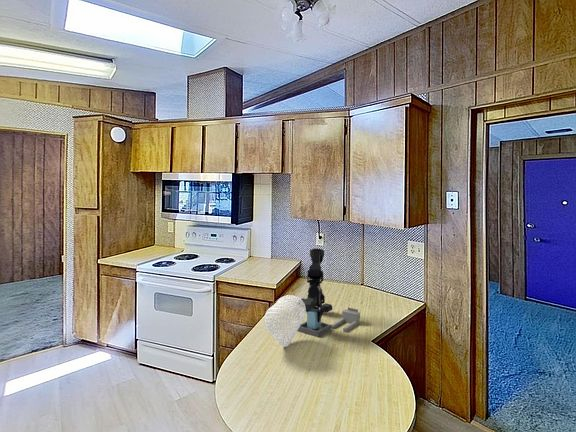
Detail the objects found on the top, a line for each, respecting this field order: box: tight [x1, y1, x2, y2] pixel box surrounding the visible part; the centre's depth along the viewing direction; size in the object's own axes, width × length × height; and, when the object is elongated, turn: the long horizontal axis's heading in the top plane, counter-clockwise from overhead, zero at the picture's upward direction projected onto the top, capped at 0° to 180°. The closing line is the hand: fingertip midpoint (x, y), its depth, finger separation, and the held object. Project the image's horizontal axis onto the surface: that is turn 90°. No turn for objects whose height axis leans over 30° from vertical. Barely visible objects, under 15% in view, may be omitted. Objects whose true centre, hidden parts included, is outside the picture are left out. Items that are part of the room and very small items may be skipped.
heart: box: [264, 294, 307, 348], centre depth 162 cm, size 28×16×22 cm, turn 164°
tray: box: [297, 320, 332, 338], centre depth 182 cm, size 13×13×3 cm
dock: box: [330, 307, 361, 333], centre depth 190 cm, size 9×18×7 cm, turn 143°
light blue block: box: [306, 309, 322, 329], centre depth 182 cm, size 5×6×9 cm
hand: (314, 321), depth 182 cm, fingers closed on light blue block, 5 cm apart
